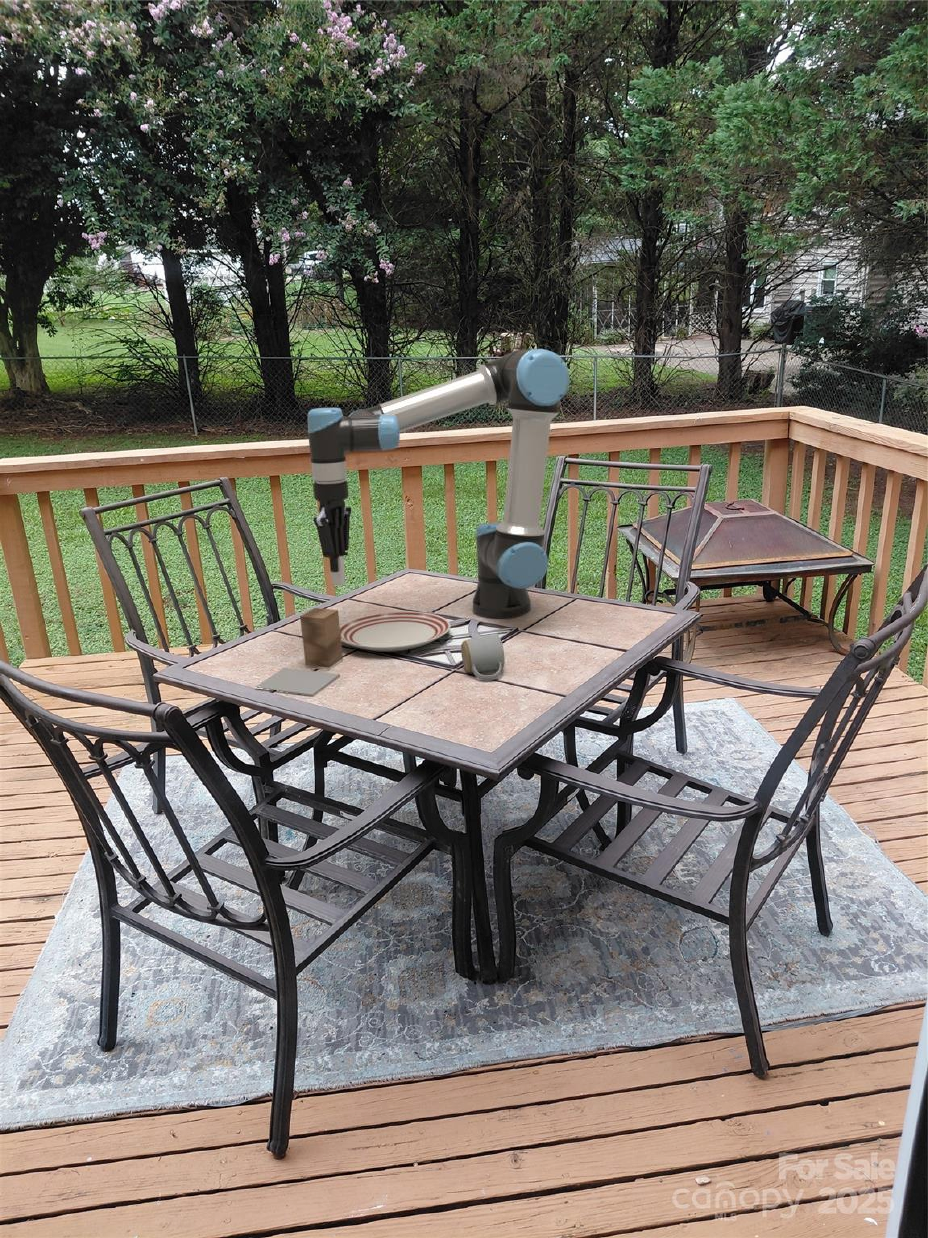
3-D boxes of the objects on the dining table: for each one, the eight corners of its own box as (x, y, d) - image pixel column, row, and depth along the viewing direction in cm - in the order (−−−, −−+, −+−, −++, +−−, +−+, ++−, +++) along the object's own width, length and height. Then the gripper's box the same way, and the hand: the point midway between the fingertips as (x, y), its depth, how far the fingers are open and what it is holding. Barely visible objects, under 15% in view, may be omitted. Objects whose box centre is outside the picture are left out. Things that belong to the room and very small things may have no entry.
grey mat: (339, 676, 180) (339, 674, 179) (313, 696, 170) (312, 694, 170) (284, 669, 185) (284, 667, 184) (255, 689, 175) (254, 687, 175)
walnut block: (343, 660, 189) (338, 610, 185) (329, 670, 183) (324, 618, 179) (319, 657, 191) (314, 607, 187) (305, 667, 185) (300, 616, 182)
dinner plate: (348, 622, 215) (347, 609, 214) (454, 619, 213) (454, 607, 212) (325, 662, 189) (324, 648, 188) (446, 659, 187) (445, 645, 186)
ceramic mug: (460, 665, 182) (458, 633, 180) (496, 661, 184) (495, 628, 181) (472, 685, 173) (471, 650, 170) (510, 679, 174) (509, 645, 172)
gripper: (330, 475, 190) (338, 575, 198) (299, 485, 179) (309, 591, 186) (359, 476, 187) (366, 577, 195) (329, 486, 176) (339, 593, 184)
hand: (338, 584), depth 191 cm, fingers closed
